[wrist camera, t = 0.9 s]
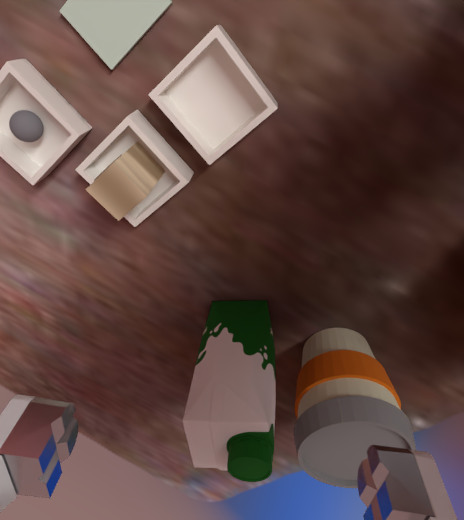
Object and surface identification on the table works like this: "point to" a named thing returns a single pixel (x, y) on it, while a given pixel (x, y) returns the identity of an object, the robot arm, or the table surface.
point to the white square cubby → (156, 146)
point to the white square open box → (51, 114)
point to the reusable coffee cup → (344, 407)
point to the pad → (113, 24)
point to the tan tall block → (126, 181)
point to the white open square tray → (214, 96)
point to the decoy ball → (26, 126)
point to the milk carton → (234, 392)
